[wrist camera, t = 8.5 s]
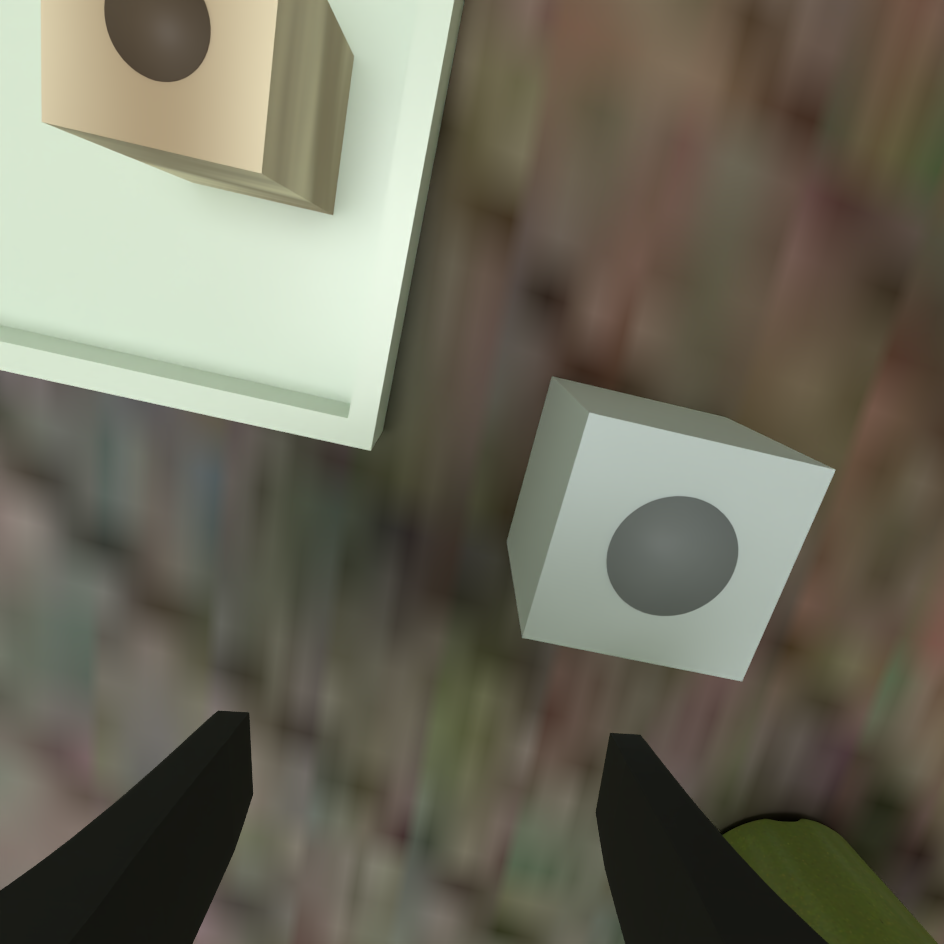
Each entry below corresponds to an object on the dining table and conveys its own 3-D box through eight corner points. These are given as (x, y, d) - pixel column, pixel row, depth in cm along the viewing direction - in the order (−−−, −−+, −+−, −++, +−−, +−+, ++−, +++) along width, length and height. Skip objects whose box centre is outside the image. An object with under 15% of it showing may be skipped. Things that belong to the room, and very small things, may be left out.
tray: (479, -79, 15) (482, -150, 12) (382, 430, 19) (370, 450, 17) (-170, -270, 14) (-305, -389, 11) (-124, 318, 18) (-216, 322, 15)
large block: (724, 416, 19) (836, 470, 13) (666, 574, 21) (742, 683, 15) (551, 375, 19) (590, 413, 13) (506, 540, 20) (522, 639, 15)
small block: (354, 55, 15) (285, -88, 9) (333, 214, 16) (260, 173, 11) (203, 18, 15) (37, -155, 9) (192, 182, 16) (39, 120, 10)
